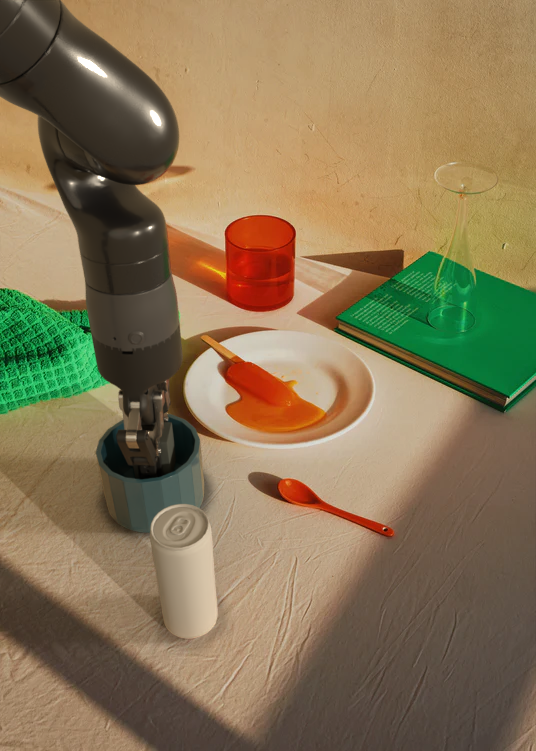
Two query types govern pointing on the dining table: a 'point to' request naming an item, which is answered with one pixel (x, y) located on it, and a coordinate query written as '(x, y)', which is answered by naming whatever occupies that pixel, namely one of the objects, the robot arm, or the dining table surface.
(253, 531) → the dining table surface
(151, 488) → the teal round container
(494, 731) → the dining table surface
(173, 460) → the dark gray rectangular block
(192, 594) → the beverage can
